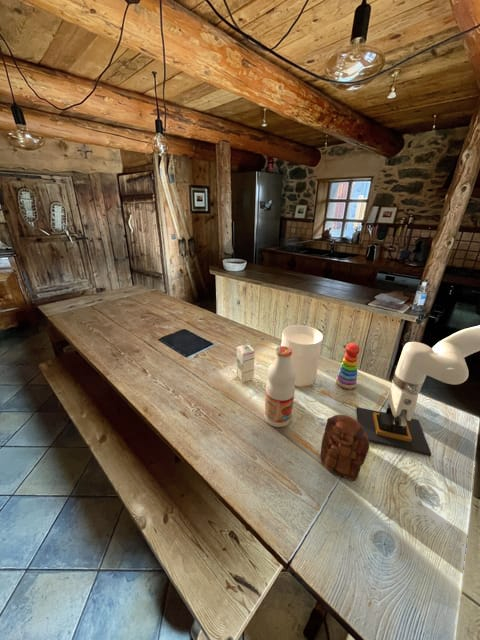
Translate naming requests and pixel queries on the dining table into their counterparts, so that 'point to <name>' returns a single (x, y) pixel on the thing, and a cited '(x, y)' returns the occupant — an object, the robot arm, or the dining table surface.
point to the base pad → (409, 441)
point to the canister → (303, 351)
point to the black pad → (387, 419)
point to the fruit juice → (280, 389)
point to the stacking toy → (349, 367)
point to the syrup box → (245, 362)
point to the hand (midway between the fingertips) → (391, 424)
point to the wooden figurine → (344, 446)
